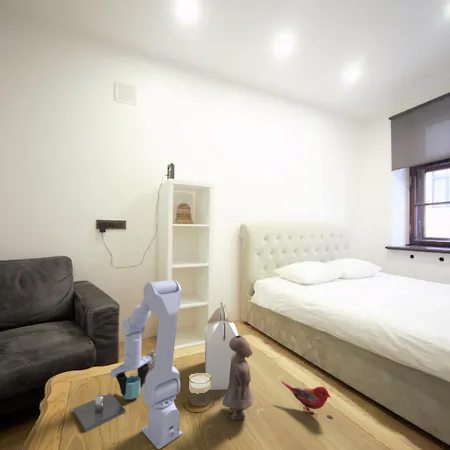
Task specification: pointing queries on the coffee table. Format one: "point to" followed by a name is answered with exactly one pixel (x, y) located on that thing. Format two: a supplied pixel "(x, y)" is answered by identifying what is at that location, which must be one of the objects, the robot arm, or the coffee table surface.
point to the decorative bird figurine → (310, 396)
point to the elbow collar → (132, 387)
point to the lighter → (151, 363)
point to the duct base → (98, 411)
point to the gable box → (219, 348)
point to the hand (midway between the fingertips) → (131, 390)
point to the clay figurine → (239, 379)
